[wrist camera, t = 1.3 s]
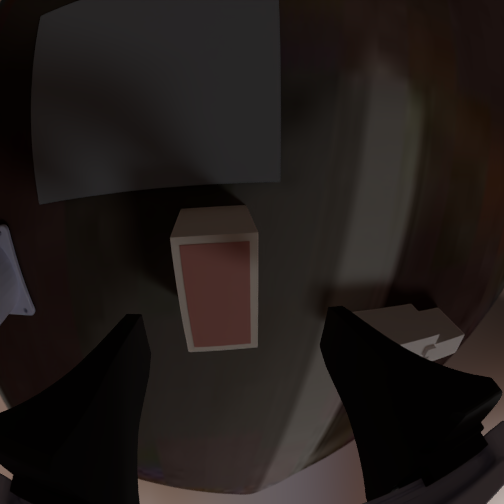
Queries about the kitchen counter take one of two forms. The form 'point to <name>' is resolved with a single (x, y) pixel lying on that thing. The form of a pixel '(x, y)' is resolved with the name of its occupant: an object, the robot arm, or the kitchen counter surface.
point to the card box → (217, 277)
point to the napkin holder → (416, 329)
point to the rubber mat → (155, 96)
